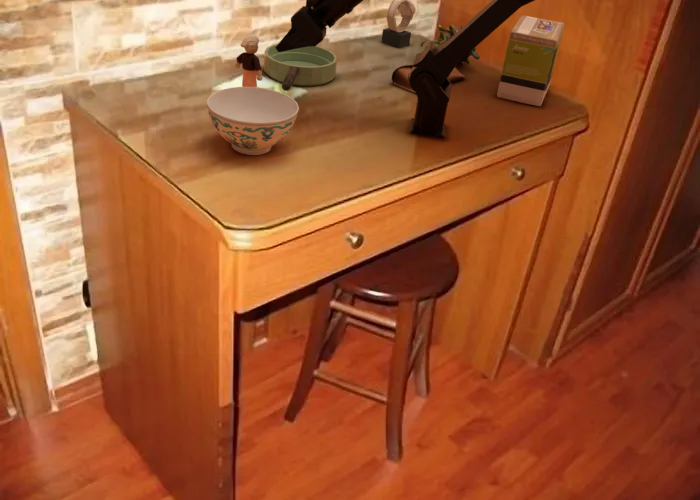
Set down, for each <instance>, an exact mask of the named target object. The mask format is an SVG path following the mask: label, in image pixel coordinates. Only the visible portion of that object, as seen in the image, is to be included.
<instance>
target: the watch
mask: <svg viewBox="0 0 700 500" xmlns="http://www.w3.org/2000/svg"><path fill="white" fill-rule="evenodd" d="M397 10H398V12H399V14H400V17H401V21H400V22H399V24H398V25H397V18H396V12H397ZM416 11H417V10H416V7H415V4H414V3H413V2H412V1H411V0H392V1H391V2H390V5H389V6H388V9H387V14H386V24H387V27H386V28H383V29H382V33H381V34H382V35H381V43H383V44H386V45H390V46H392V47H395V48H398V49H401V48H403V47H404V48H405V47H408V46H410V44H411V43H410V42H411V36H412V32H411V31H408V30H406V29H408V27H409V25H410V23H411V22H412V20H413V18H414V15H415V13H416Z"/></svg>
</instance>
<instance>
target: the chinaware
mask: <svg viewBox="0 0 700 500" xmlns="http://www.w3.org/2000/svg"><path fill="white" fill-rule="evenodd" d="M206 106H207V107H206V108H207V111H208V115H209V118H210V120H211V121H210V122H212V125H213V126H214V129H215V130H216V132H218V134H219V135H220V136H221V137H222V138H223V139H224V140H225V141H226V142H228V143H230V144H231V147H232V149H233V150H234V151H236V152H238V153H240V154H244V155H250V156H255V155H256V156H257V155H263V154H266V153H268V152H270V151H271V149H272V147H273V146H276V145H277V144H278V143H279V142H281V141H282V140H283V139H285V138H286V136H287V135H288V134H289V133H290V131H291V130H292V128H293V127H294V125H295V122H296V120H297V118H298V114H299V108H300V107H299V104H298V102H297V101H296V100H295V99H294V98H293V97H291V96H289V95H288V94H285V93H283V92H280V91H277V90H274V89H270V88H265V87H259V86H257V87H242V86H233V87H227V88H223V89H220V90H217V91H215V92H213V93H211V94H210V95H209V96H208V98H207V100H206Z"/></svg>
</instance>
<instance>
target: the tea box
mask: <svg viewBox="0 0 700 500" xmlns="http://www.w3.org/2000/svg"><path fill="white" fill-rule="evenodd" d="M564 28H565V22H562V21H556V20H550V19H545V18H539V17H534V16H529V15H525V14H522V15H521V16H519V19H518V21H516V23H515V25H514V26H513V28H512V29H511V31H510V32H509V33H510V34H509V37H508V42H507V46H506V50H505V56H504V60H503V63H502V64H503V65H502V68H501V69H502V70H501V73H500V78H499V83H498V89H497V92H496V97H497V98H499V99H503V100H508V101H512V102H517V103H521V104H525V105H530V106H535V107H541V106H542V104H543V101H544V99H545V97H546V95H547V93H548V90H549V88H550V85H551V82H552V77H553V73H554V69H555V65H556V62H557V58H558V54H559V50H560V46H561V42H562V38H563V34H564Z"/></svg>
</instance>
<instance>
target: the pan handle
mask: <svg viewBox="0 0 700 500" xmlns="http://www.w3.org/2000/svg"><path fill="white" fill-rule="evenodd" d="M298 72H299V69H298V68H297V67H296V66H292V67H291V68H290V70H289V72H288V74H287V76H286V78H285V80H284V81H283V82H281V90H283V91H285V92H289V91H290V90H291V88H292V87H293V86H294V85H293V83H294V80H295V78H296V76H297V74H298Z"/></svg>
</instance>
